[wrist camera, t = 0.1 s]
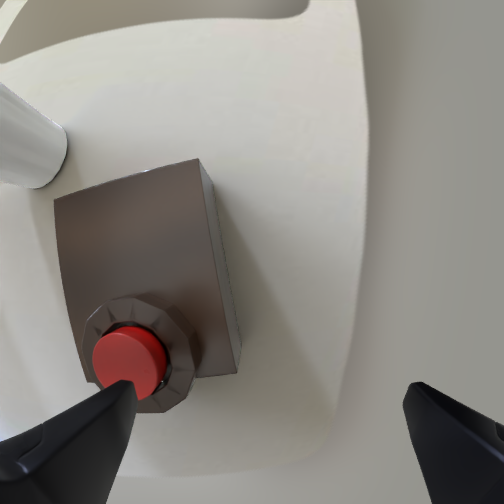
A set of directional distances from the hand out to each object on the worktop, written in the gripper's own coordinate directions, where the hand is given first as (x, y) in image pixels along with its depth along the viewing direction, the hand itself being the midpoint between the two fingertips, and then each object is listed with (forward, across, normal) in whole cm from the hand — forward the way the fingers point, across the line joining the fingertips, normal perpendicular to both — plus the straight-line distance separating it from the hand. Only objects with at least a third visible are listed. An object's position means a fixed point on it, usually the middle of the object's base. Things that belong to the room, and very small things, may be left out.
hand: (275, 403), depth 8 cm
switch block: (+13, +8, 0) cm, 15 cm away
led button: (+5, +7, +3) cm, 9 cm away
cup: (+16, +20, -9) cm, 27 cm away
